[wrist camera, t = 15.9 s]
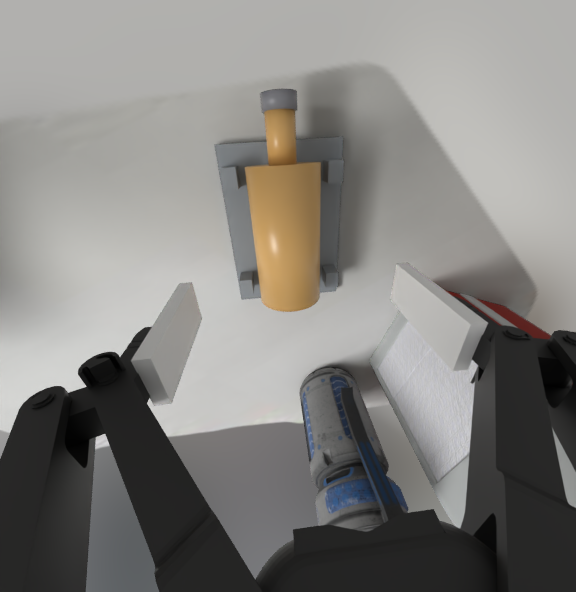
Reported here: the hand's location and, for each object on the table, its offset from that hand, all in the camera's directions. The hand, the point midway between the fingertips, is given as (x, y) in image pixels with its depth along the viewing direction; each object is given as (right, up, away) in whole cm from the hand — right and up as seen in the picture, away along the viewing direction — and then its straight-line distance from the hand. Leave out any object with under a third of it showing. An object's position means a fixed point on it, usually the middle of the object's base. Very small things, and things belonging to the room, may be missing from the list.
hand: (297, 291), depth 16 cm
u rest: (-1, +8, +14) cm, 16 cm away
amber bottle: (-1, +10, +12) cm, 16 cm away
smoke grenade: (+7, -15, +29) cm, 33 cm away
